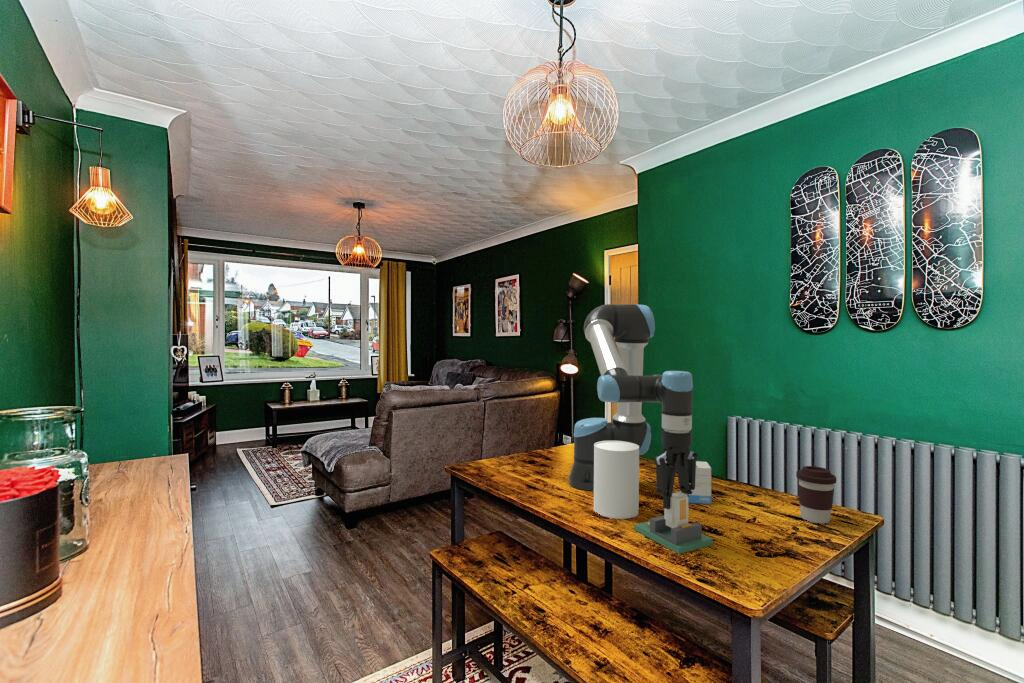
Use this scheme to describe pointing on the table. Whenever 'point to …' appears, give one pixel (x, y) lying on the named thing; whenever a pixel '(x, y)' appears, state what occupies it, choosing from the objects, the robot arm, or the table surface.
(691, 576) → the table surface
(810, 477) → the coffee cup
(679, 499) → the plug
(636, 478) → the canister
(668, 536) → the board
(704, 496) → the ink box
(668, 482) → the robot arm
